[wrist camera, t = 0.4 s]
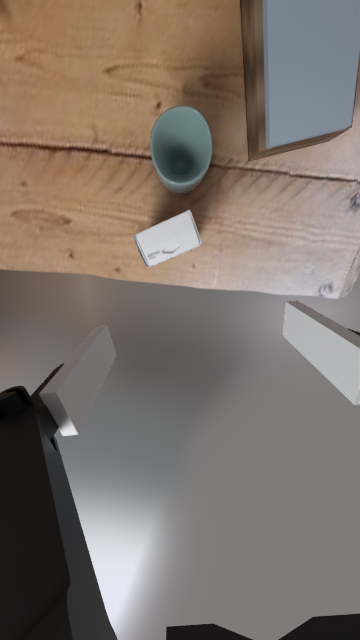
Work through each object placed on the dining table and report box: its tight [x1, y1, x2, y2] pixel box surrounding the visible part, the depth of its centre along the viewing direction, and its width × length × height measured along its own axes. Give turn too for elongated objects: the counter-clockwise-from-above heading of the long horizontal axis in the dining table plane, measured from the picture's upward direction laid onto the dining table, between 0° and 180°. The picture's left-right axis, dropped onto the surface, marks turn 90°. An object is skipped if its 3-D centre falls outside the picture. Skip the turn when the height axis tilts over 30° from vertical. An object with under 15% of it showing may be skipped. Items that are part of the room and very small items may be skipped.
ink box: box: [133, 210, 202, 267], centre depth 32 cm, size 9×5×12 cm, turn 112°
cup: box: [150, 106, 213, 194], centre depth 28 cm, size 8×8×10 cm
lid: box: [263, 0, 360, 149], centre depth 22 cm, size 18×11×4 cm, turn 12°
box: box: [240, 0, 360, 161], centre depth 26 cm, size 18×13×4 cm
